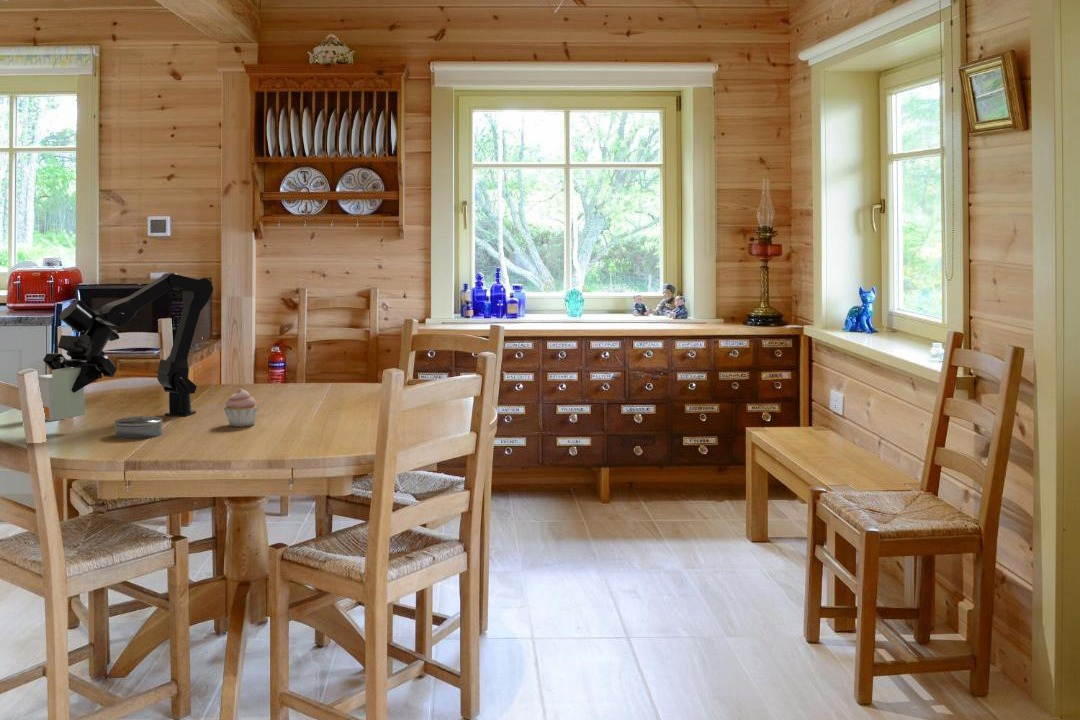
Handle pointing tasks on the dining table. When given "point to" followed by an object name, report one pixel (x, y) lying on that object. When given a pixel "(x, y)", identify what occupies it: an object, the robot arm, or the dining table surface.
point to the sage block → (67, 393)
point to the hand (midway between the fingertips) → (64, 390)
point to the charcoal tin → (138, 427)
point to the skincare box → (47, 396)
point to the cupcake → (241, 409)
